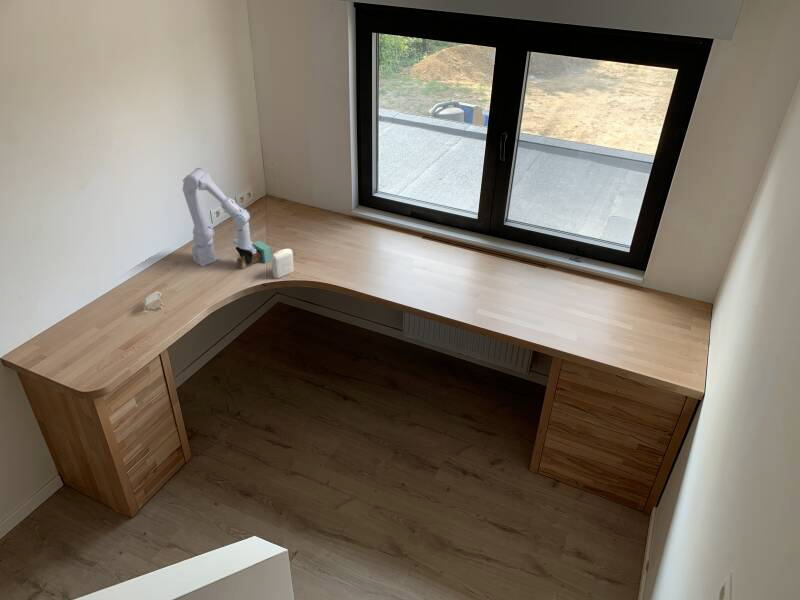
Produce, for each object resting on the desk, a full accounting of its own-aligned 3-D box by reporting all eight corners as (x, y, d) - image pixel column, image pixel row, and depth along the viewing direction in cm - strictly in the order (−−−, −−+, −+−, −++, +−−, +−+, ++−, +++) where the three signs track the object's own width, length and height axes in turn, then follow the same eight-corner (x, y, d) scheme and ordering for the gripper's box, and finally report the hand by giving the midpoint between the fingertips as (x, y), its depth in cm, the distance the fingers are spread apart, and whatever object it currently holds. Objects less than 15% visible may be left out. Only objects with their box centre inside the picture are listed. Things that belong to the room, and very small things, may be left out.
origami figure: (163, 314, 254) (161, 304, 252) (142, 315, 253) (140, 305, 251) (169, 297, 264) (166, 288, 261) (148, 298, 263) (146, 289, 260)
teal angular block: (265, 263, 291) (263, 250, 287) (253, 256, 295) (252, 243, 291) (272, 260, 293) (270, 247, 289) (260, 253, 298) (258, 240, 294)
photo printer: (289, 268, 288) (288, 245, 281) (295, 271, 285) (293, 248, 278) (271, 276, 281) (269, 252, 274) (277, 279, 279) (275, 256, 272)
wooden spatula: (241, 269, 285) (240, 261, 283) (237, 266, 287) (236, 258, 284) (272, 256, 296) (272, 248, 294) (268, 253, 298) (268, 246, 296)
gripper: (260, 238, 279) (263, 264, 286) (241, 227, 286) (244, 253, 294) (247, 243, 274) (250, 269, 282) (228, 232, 282) (231, 258, 289)
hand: (246, 261), depth 288 cm, fingers closed on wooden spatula, 3 cm apart
